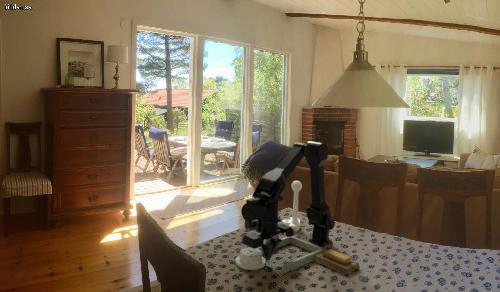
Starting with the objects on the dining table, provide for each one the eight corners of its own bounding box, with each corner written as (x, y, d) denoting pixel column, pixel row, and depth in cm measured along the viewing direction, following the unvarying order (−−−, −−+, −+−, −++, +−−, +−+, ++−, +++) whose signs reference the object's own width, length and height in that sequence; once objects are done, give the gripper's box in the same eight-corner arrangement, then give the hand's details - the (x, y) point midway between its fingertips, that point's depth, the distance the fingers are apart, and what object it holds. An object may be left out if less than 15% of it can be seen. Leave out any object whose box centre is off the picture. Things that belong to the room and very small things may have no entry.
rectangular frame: (327, 255, 141) (328, 250, 141) (358, 268, 132) (359, 262, 132) (315, 261, 136) (315, 255, 136) (346, 274, 127) (346, 269, 127)
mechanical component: (229, 264, 132) (254, 273, 126) (230, 252, 131) (255, 260, 126) (246, 254, 140) (270, 262, 134) (247, 242, 139) (271, 250, 134)
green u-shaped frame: (290, 241, 152) (290, 235, 152) (324, 255, 141) (324, 249, 140) (251, 255, 139) (251, 249, 138) (284, 272, 127) (285, 265, 127)
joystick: (299, 231, 163) (302, 184, 160) (281, 230, 164) (283, 183, 161) (300, 222, 174) (302, 178, 170) (282, 221, 175) (284, 176, 171)
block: (324, 262, 136) (325, 251, 135) (330, 260, 138) (330, 249, 137) (344, 271, 130) (345, 259, 129) (349, 268, 132) (350, 257, 131)
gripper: (271, 203, 142) (270, 245, 145) (231, 213, 130) (230, 259, 132) (295, 211, 134) (293, 255, 137) (255, 223, 122) (253, 271, 124)
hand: (267, 259), depth 133 cm, fingers closed
